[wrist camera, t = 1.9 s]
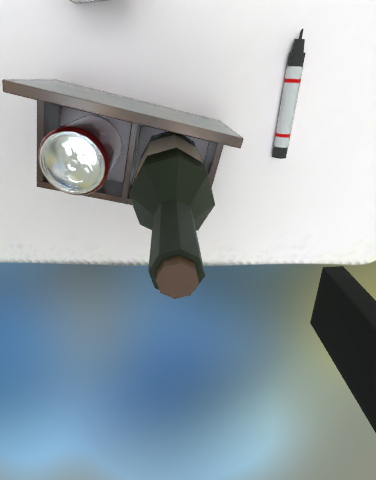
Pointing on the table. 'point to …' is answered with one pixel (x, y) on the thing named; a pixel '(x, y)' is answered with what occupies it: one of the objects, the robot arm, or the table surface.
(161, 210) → the wine bottle
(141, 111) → the divided wooden storage box
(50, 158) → the soda can
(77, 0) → the milk carton
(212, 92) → the table surface
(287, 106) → the marker
